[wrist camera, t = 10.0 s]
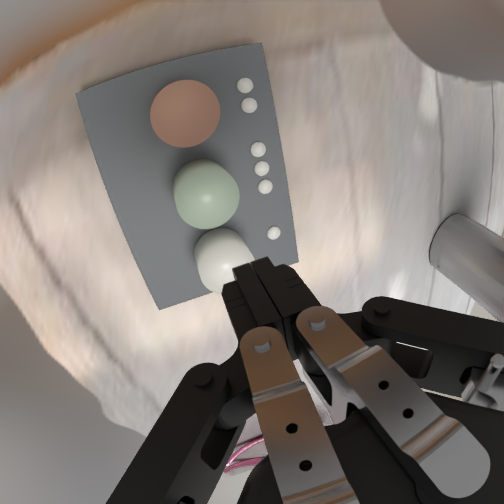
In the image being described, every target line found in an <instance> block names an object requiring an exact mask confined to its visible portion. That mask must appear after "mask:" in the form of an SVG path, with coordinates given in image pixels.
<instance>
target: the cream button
mask: <svg viewBox="0 0 504 504" xmlns="http://www.w3.org/2000/svg"><path fill="white" fill-rule="evenodd" d="M194 258H195V261H196V265H197V268H198V271H199V275H200V278H201V281H202V283H203V284H204V286H205V287H206V288H207V289H209V290H210V291H212V292H215V293H219V294H221V293H222V289H223V285H224V284H226V283H229V282H232V281H235V279H234V275H233V272H232V268H234V267H237V266H240V265H243V264H246V263H250V262H251V261H254V260H255V259H254V257H253V255H252V253H251V252H250V250H249V249H248V247H247V246H246V244H245V242H244V241H243V239H242V238H241V236H240V235H239V234H238V233H236V232H235V231H233V230H231V229H227V228H218V229H214V230H211V231H209V232H207V233H206V234H204V235H203V236H202V237H201V238H200V239H199V240H198V242H197V244H196V246H195V250H194Z"/></svg>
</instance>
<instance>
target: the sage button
mask: <svg viewBox="0 0 504 504" xmlns="http://www.w3.org/2000/svg"><path fill="white" fill-rule="evenodd" d="M173 195H174V199H175V203H176V208H177V211H178V213H179V215H180V217H181V218H182V219H183V220H184V221H185V222H186V223H187V224H189V225H191V226H193V227H195V228H199V229H211V228H215V227H218V226H220V225H222V224H224V223H225V222H227V221H228V220H229V219H230V218H231V217H232V216H233V214H234V213H235V211H236V209H237V207H238V204H239V198H240V194H239V188H238V185H237V183H236V181H235V180H234V179H233V177H232V176H231V175H230V174H229V173H228V172H227V171H226V170H225V169H224V168H223V167H222V166H221V165H220V164H218V163H217V162H215V161H213V160H209V159H196V160H193V161H190V162H188V163H186V164H185V165H184V166H182V167H181V168H180V170H179V171H178V172H177V174H176V176H175V178H174V181H173Z"/></svg>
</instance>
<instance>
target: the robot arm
mask: <svg viewBox="0 0 504 504" xmlns="http://www.w3.org/2000/svg"><path fill="white" fill-rule="evenodd" d="M430 262H431V265H432V266H433V267H434V268H436V269H437V270H438V271H439V272H441V273H442V274H443V275H445V276H446V277H447V278H448V279H450V280H451V281H452V282H453V283H454V284H456V285H457V286H458V287H459V288H461V289H462V290H463V291H464V292H465V293H467V294H468V295H469V296H470V297H471V298H473V299H474V300H475V301H476V302H477V303H479V304H480V305H481V306H482V307H483V308H484V309H486V310H487V311H488V312H489V313H490V314H491V315H493V316H494V317H495V318H496V319H497V320H498V321H499V322H498V321H493V320H489V319H484V318H479V317H475V316H470V315H466V314H461V313H457V312H452V311H447V310H443V309H438V308H434V307H429V306H425V305H420V304H416V303H412V302H407V301H403V300H398V299H394V298H390V297H384V296H380V297H374V298H371V299H369V300H368V301H366V302H365V303H364V305H363V307H362V311H359V312H353V313H346V314H338V313H336V312H335V311H334V310H332V309H331V308H328V307H325V306H322V305H321V304H320V303H319V301H318V300H317V299H316V297H315V296H314V295H313V293H312V292H311V291H310V289H309V288H308V287H307V286H306V284H304V282H303V280H302V279H301V278H300V277H299V275H298V274H297V273H296V271H295V270H294V269H293V268H291V267H289V266H287V265H285V264H281V265H278V266H274V265H273V263H272V262H271V260H270V259H269V257H268V256H266V257H263V258H260V259H257V260H254V261H251V262H250V263H246V264H243V265H240V266H237V267H234V268H232V272H233V275H234V279H235V281H232V282H229V283H226V284H224V285H223V289H222V293H221V294H222V297H223V300H224V303H225V306H226V309H227V312H228V315H229V318H230V321H231V323H232V326H233V329H234V331H235V334H236V337H237V339H238V347H237V349H236V351H235V353H234V354H233V355H232V356H231V357H230V358H229V359H228V360H227V361H225V362H224V363H222V364H221V365H217V364H214V363H202V364H198V365H196V366H194V367H192V368H191V369H190V370H189V371H188V372H187V373H186V374H185V376H184V377H183V379H182V381H181V382H180V384H179V386H178V387H177V389H176V390H175V392H174V394H173V395H172V397H171V399H170V400H169V402H168V404H167V405H166V407H165V408H164V410H163V412H162V413H161V415H160V417H159V418H158V420H157V422H156V423H155V425H154V426H153V428H152V430H151V431H150V433H149V435H148V436H147V438H146V440H145V441H144V443H143V444H142V446H141V448H140V449H139V451H138V452H137V454H136V456H135V458H134V459H133V461H132V462H131V464H130V466H129V467H128V469H127V471H126V472H125V474H124V475H123V477H122V478H121V480H120V482H119V483H118V485H117V486H116V488H115V490H114V491H113V493H112V494H111V496H110V498H109V499H108V501H107V502H106V504H207V503H208V501H209V499H210V497H211V495H212V493H213V491H214V489H215V487H216V485H217V483H218V481H219V479H220V477H221V475H222V473H223V471H224V469H225V467H226V465H227V463H228V460H229V458H230V456H231V454H232V452H233V450H234V448H235V446H236V443H237V441H238V439H239V437H240V435H241V433H242V430H243V428H244V426H245V423H246V419H248V418H249V417H251V416H252V415H253V414H255V413H256V414H257V418H258V421H259V425H260V428H261V431H262V435H263V438H264V442H265V445H266V448H267V452H268V455H267V456H266V457H264V458H263V459H262V460H261V461H260V462H259V463H258V464H257V465H256V466H255V468H254V469H253V470H252V472H251V473H250V475H249V477H248V478H247V481H246V483H245V485H244V488H243V490H242V493H241V495H240V498H239V500H238V502H237V504H504V238H502V237H501V236H499V235H498V234H496V233H494V232H493V231H491V230H490V229H488V228H486V227H485V226H483V225H481V224H480V223H478V222H476V221H475V220H473V219H471V218H470V217H464V216H463V215H461V214H454V215H452V216H450V217H449V218H447V219H446V220H445V222H444V223H443V224H442V225H441V226H440V228H439V229H438V231H437V233H436V235H435V237H434V239H433V242H432V245H431V249H430ZM396 341H397V342H400V343H404V344H408V345H412V346H416V347H420V348H424V349H428V350H423V349H419V348H415V347H411V346H407V345H403V344H399V343H396ZM296 359H299V361H300V363H301V364H302V368H303V374H304V376H305V378H306V379H307V381H308V382H309V383H310V385H311V386H312V388H313V389H314V391H315V392H316V394H317V395H318V397H319V398H320V400H321V401H322V403H323V404H324V406H325V407H326V408H327V410H328V412H329V414H330V416H331V419H332V421H333V424H334V425H329V426H324V425H323V423H322V421H321V418H320V416H319V414H318V411H317V409H316V407H315V405H314V402H313V400H312V398H311V395H310V393H309V391H308V388H307V386H306V384H305V383H304V382H302V381H301V379H300V377H299V375H298V372H297V370H296V368H295V365H294V363H293V361H294V360H296ZM421 388H424V389H427V390H431V391H435V392H439V393H443V394H448V395H452V396H457V397H461V398H462V399H463V401H464V402H463V401H459V400H455V399H451V398H448V397H444V396H441V395H437V394H434V393H429V392H424V391H423V390H422V389H421Z"/></svg>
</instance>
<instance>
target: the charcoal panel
mask: <svg viewBox="0 0 504 504" xmlns="http://www.w3.org/2000/svg"><path fill="white" fill-rule="evenodd" d="M180 80H194V81H198V82H201V83H203V84H205V85H206V86H208V87H209V88H210V89H211V90H212V91H213V92H214V93H215V95H216V97H217V99H218V101H219V104H220V119H219V123H218V125H217V127H216V129H215V131H214V132H213V134H212V135H211V136H210V137H209V138H208V139H206V140H205V141H204V142H202V143H200V144H198V145H195V146H192V147H185V148H184V147H175V146H171V145H169V144H167V143H165V142H164V141H162V140H161V139H160V138H159V137H158V136H157V135H156V133H155V132H154V130H153V128H152V125H151V120H150V110H151V106H152V103H153V101H154V99H155V97H156V96H157V94H158V93H159V92H160V91H161V90H162V89H163V88H164V87H166V86H167V85H169V84H171V83H173V82H176V81H180ZM76 97H77V100H78V104H79V108H80V111H81V115H82V118H83V122H84V125H85V128H86V132H87V135H88V138H89V141H90V144H91V147H92V150H93V153H94V156H95V159H96V162H97V165H98V168H99V171H100V174H101V177H102V179H103V182H104V185H105V188H106V190H107V193H108V196H109V198H110V201H111V203H112V206H113V209H114V211H115V214H116V216H117V219H118V221H119V224H120V226H121V228H122V231H123V233H124V236H125V238H126V240H127V243H128V245H129V247H130V250H131V252H132V254H133V256H134V259H135V261H136V263H137V265H138V267H139V270H140V272H141V274H142V276H143V278H144V280H145V283H146V285H147V287H148V289H149V291H150V293H151V295H152V297H153V299H154V301H155V303H156V305H157V307H158V309H159V310H161V309H164V308H167V307H170V306H173V305H176V304H179V303H182V302H185V301H188V300H191V299H194V298H197V297H200V296H203V295H206V294H209V293H212V291H210V290H209V289H207V288H206V287H205V286H204V284H203V283H202V281H201V278H200V275H199V271H198V268H197V265H196V261H195V258H194V250H195V246H196V244H197V242H198V240H199V239H200V238H201V237H202V236H203V235H204V234H206V233H207V232H209V231H211V230H214V229H218V228H227V229H231V230H233V231H235V232H236V233H238V234H239V235H240V236H241V238H242V239H243V241H244V242H245V244H246V246H247V247H248V249H249V250H250V252H251V253H252V255H253V257H254V259H255V260H257V259H260V258H263V257H266V256H268V257H269V259H270V260H271V262H272V263H273V265H274V266H278V265H281V264H285V265H287V266H289V265H291V264H294V263H297V262H299V260H298V253H297V245H296V238H295V230H294V223H293V216H292V209H291V203H290V196H289V189H288V183H287V177H286V170H285V164H284V158H283V152H282V146H281V140H280V134H279V129H278V123H277V118H276V112H275V107H274V101H273V96H272V91H271V86H270V81H269V75H268V70H267V66H266V61H265V56H264V51H263V46H262V43H257V44H249V45H243V46H236V47H230V48H225V49H219V50H214V51H209V52H204V53H200V54H195V55H191V56H186V57H182V58H178V59H174V60H171V61H167V62H163V63H160V64H156V65H153V66H150V67H146V68H143V69H140V70H137V71H134V72H131V73H128V74H125V75H122V76H119V77H116V78H113V79H111V80H108V81H105V82H103V83H100V84H98V85H95V86H93V87H90V88H88V89H85V90H83V91H81V92H78V93H76ZM196 159H209V160H213V161H215V162H217V163H218V164H220V165H221V166H222V167H223V168H224V169H225V170H226V171H227V172H228V173H229V174H230V175H231V176H232V177H233V179H234V180H235V181H236V183H237V185H238V188H239V194H240V198H239V204H238V207H237V209H236V211H235V213H234V214H233V216H232V217H231V218H230V219H229V220H228V221H227V222H225V223H224V224H222V225H220V226H218V227H215V228H211V229H199V228H195V227H193V226H191V225H189V224H187V223H186V222H185V221H184V220H183V219H182V218H181V217H180V215H179V213H178V211H177V208H176V203H175V199H174V195H173V181H174V178H175V176H176V174H177V172H178V171H179V170H180V168H181V167H182V166H184V165H185V164H186V163H188V162H190V161H193V160H196Z"/></svg>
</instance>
